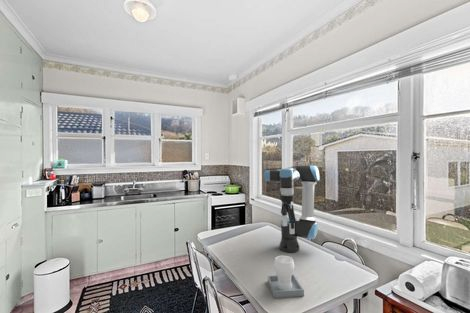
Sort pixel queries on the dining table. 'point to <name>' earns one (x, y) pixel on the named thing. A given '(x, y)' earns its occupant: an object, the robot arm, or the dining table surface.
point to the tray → (278, 293)
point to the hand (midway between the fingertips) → (288, 229)
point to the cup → (284, 271)
